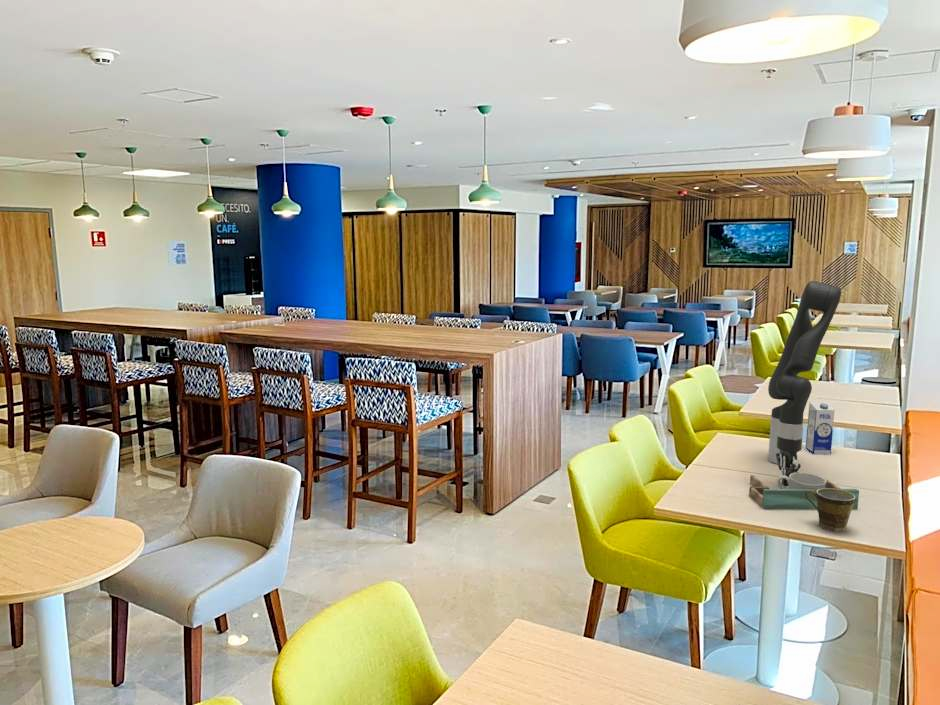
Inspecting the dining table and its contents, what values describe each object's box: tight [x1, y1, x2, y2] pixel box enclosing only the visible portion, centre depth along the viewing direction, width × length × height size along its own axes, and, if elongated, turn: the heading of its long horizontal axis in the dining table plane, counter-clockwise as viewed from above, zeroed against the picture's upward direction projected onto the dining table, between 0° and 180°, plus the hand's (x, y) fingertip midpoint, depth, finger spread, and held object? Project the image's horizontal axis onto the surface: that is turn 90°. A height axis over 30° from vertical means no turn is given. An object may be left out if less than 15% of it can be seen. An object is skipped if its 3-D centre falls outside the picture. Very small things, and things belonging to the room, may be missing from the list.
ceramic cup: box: [805, 488, 855, 532], centre depth 199 cm, size 13×10×10 cm
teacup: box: [776, 471, 826, 489], centre depth 218 cm, size 14×11×8 cm
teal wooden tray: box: [748, 474, 860, 510], centre depth 223 cm, size 23×29×6 cm
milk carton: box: [805, 401, 835, 455], centre depth 269 cm, size 7×7×20 cm
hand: (785, 485), depth 229 cm, fingers closed
